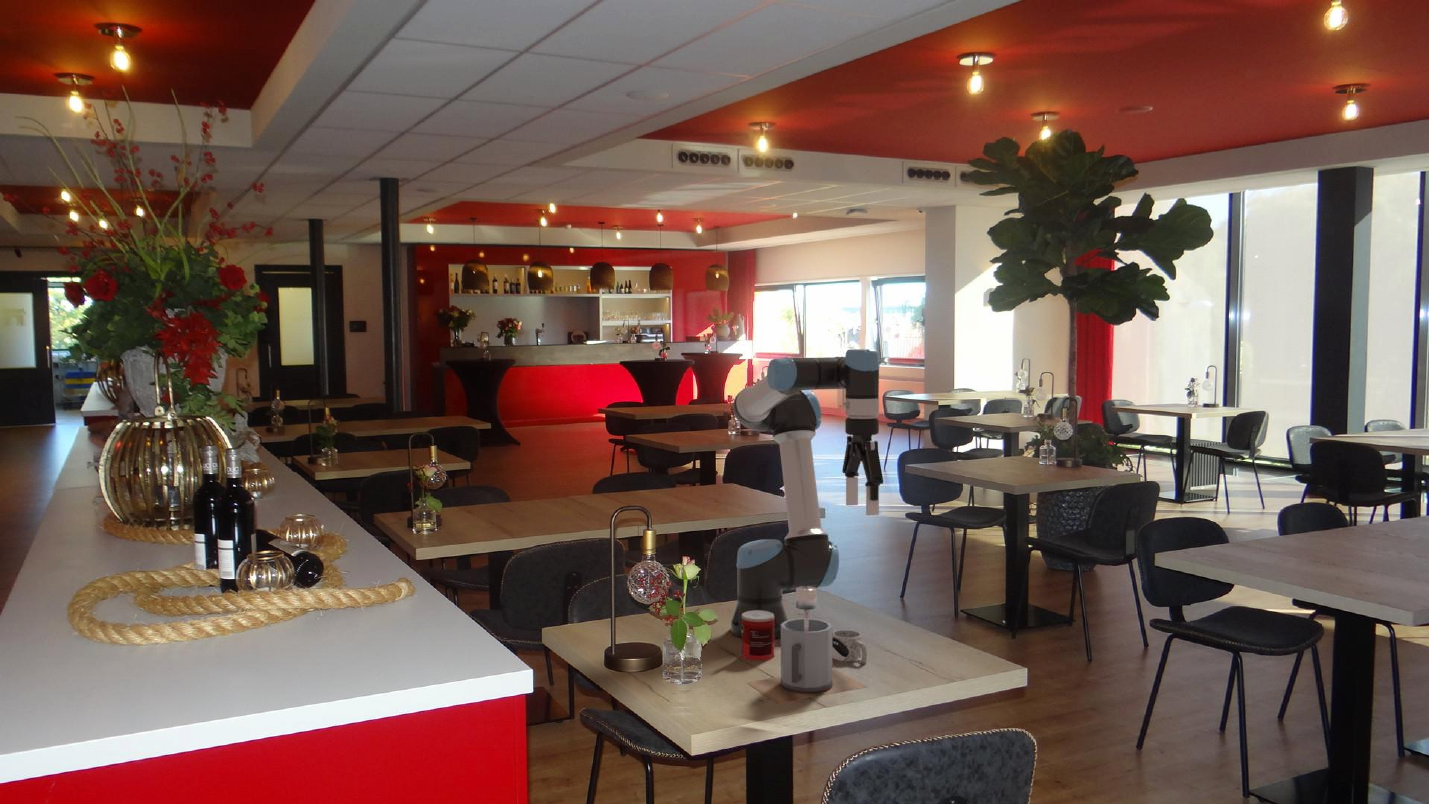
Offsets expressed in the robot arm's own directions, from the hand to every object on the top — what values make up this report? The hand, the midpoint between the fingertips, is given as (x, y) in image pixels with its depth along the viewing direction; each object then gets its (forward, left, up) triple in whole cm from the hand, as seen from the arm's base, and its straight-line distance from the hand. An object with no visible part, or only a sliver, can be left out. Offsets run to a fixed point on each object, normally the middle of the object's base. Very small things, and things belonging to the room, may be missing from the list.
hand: (861, 509), depth 228 cm
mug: (-3, +2, -37) cm, 37 cm away
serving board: (-7, -19, -37) cm, 42 cm away
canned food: (-24, -4, -37) cm, 44 cm away
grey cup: (-7, -20, -35) cm, 41 cm away
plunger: (-7, -19, -33) cm, 39 cm away
